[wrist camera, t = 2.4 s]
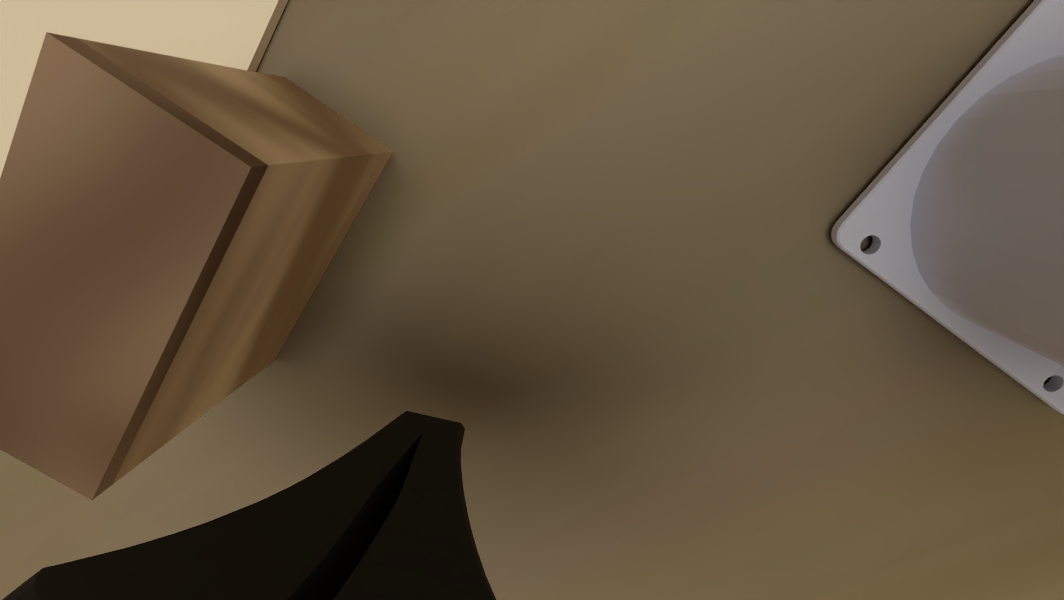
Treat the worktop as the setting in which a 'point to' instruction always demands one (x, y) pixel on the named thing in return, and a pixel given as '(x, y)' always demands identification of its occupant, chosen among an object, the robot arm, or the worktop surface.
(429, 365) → the worktop surface
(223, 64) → the mat
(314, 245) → the oak slab
